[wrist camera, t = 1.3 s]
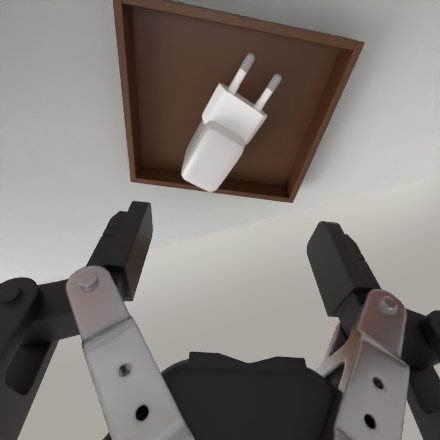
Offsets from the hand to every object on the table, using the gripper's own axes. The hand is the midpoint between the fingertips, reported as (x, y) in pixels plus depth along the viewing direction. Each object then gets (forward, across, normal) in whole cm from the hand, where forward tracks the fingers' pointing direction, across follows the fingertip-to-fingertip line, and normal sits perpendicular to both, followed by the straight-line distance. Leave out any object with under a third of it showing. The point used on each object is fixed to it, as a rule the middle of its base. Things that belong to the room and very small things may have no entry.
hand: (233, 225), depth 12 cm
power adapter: (+16, 0, 0) cm, 16 cm away
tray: (+16, 0, 0) cm, 16 cm away
